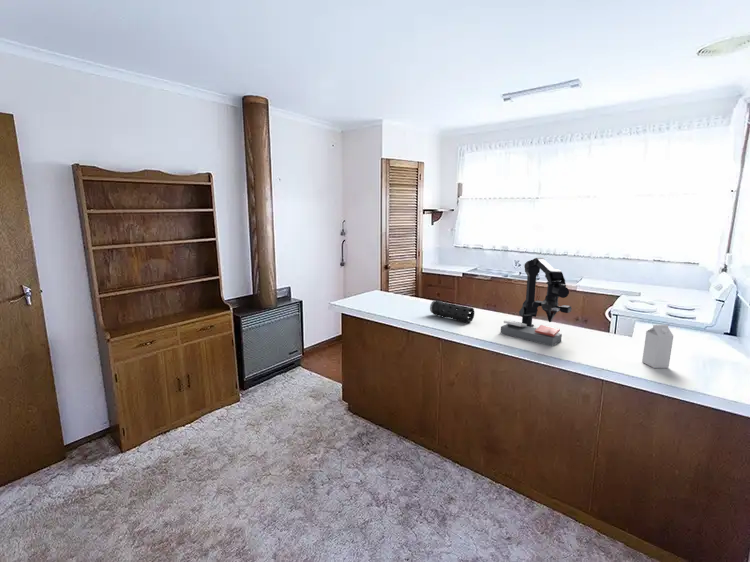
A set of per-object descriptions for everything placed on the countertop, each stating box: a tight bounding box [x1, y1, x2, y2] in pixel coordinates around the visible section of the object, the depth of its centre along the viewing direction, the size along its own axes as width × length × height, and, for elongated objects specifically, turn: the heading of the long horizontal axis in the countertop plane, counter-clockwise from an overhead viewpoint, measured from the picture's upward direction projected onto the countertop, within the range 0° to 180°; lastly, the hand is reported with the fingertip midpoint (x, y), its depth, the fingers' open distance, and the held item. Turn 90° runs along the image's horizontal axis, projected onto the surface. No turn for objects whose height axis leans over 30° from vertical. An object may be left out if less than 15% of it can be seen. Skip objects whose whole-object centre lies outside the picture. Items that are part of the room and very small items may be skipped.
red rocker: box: [535, 324, 561, 337], centre depth 207 cm, size 8×10×1 cm
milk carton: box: [641, 324, 674, 369], centre depth 174 cm, size 7×7×19 cm
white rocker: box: [503, 320, 527, 327], centre depth 219 cm, size 8×10×1 cm
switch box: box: [500, 323, 563, 347], centre depth 214 cm, size 12×29×5 cm, turn 44°
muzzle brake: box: [429, 300, 475, 324], centre depth 248 cm, size 10×28×10 cm, turn 47°
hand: (549, 322), depth 208 cm, fingers closed
